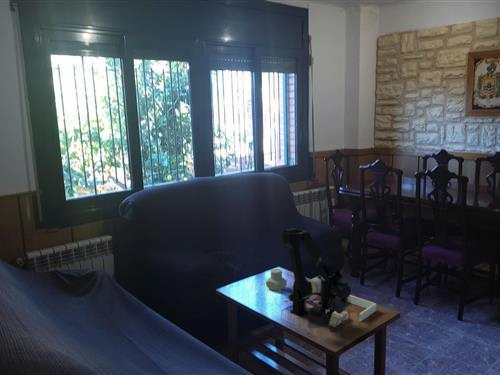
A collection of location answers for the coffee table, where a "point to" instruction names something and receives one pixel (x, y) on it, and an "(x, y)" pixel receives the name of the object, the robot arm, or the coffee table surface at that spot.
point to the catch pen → (363, 303)
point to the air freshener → (276, 280)
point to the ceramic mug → (316, 285)
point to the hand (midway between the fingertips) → (326, 324)
